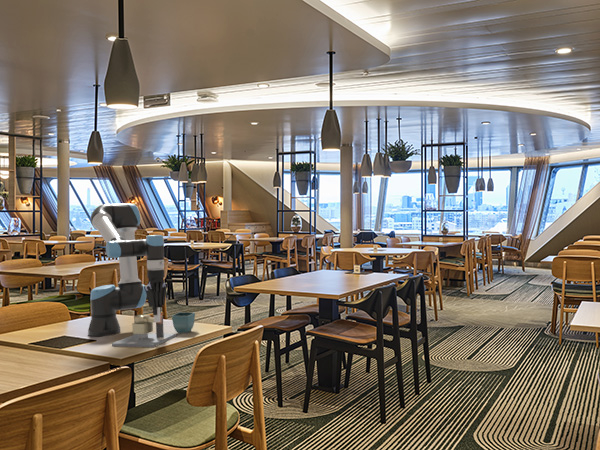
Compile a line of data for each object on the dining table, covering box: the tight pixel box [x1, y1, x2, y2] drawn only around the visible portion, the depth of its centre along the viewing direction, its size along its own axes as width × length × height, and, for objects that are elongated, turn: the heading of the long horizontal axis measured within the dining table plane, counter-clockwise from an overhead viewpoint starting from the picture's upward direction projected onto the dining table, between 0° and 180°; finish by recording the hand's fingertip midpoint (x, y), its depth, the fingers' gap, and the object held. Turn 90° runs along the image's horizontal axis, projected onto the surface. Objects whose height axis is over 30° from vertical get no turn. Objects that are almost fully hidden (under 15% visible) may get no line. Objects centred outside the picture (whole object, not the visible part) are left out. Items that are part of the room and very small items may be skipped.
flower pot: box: [171, 311, 196, 334], centre depth 273 cm, size 9×9×9 cm
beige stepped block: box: [131, 312, 163, 334], centre depth 254 cm, size 14×7×9 cm, turn 66°
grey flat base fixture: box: [111, 315, 177, 348], centre depth 256 cm, size 20×22×11 cm
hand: (157, 321), depth 250 cm, fingers closed
